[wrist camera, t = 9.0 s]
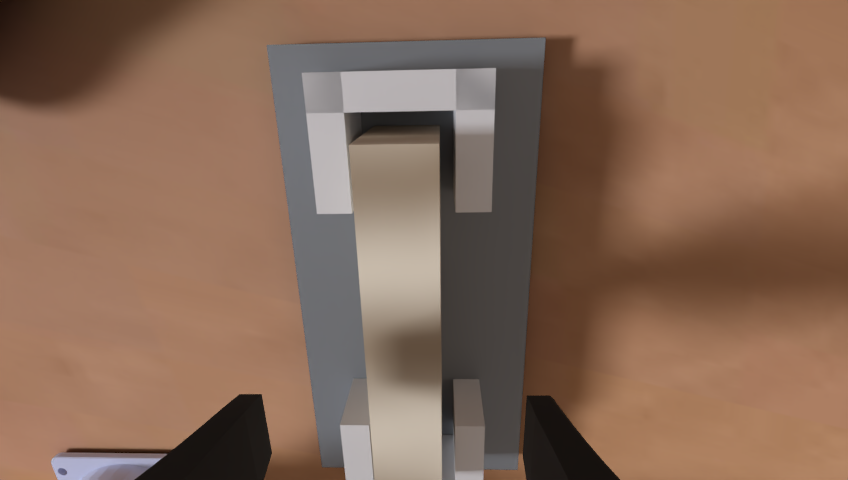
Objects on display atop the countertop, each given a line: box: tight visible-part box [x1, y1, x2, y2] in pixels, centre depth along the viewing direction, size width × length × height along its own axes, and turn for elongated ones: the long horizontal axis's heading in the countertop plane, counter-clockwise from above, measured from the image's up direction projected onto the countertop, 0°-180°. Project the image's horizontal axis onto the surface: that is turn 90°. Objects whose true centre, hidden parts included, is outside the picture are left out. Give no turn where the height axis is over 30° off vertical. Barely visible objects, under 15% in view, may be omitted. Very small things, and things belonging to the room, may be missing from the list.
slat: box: [349, 125, 442, 480], centre depth 17 cm, size 14×2×5 cm, turn 1°
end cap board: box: [267, 38, 546, 480], centre depth 19 cm, size 20×10×4 cm, turn 1°
